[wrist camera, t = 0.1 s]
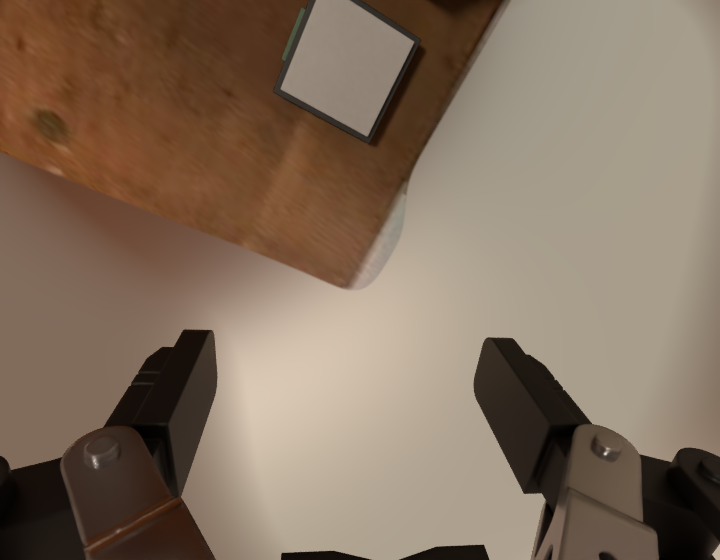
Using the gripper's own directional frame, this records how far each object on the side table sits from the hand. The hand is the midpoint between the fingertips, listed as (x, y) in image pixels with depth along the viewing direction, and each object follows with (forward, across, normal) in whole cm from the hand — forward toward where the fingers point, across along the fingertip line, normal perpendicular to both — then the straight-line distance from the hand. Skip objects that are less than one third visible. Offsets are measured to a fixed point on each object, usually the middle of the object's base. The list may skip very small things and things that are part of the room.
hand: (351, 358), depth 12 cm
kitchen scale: (+29, -1, -9) cm, 31 cm away
